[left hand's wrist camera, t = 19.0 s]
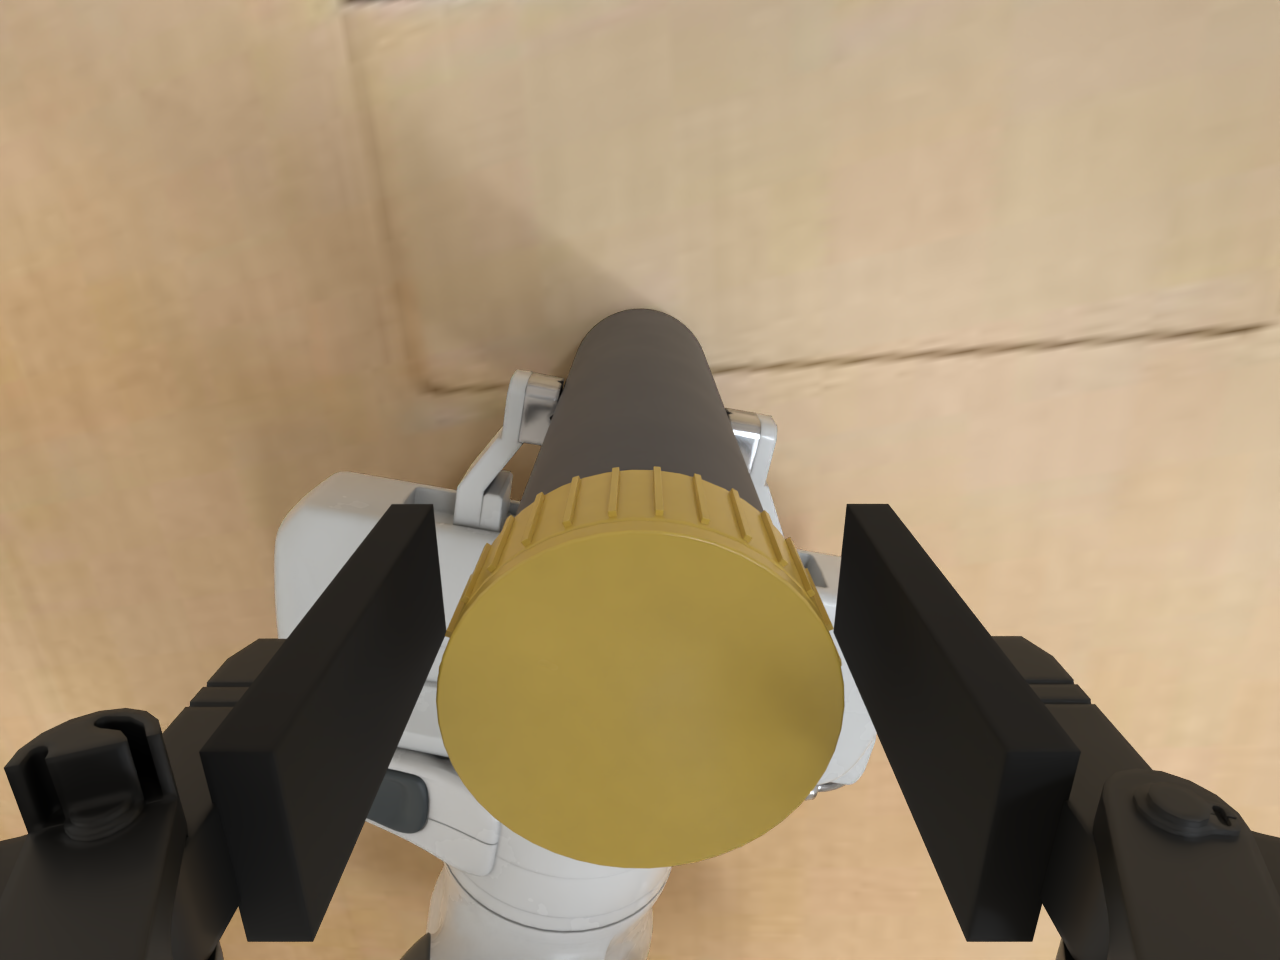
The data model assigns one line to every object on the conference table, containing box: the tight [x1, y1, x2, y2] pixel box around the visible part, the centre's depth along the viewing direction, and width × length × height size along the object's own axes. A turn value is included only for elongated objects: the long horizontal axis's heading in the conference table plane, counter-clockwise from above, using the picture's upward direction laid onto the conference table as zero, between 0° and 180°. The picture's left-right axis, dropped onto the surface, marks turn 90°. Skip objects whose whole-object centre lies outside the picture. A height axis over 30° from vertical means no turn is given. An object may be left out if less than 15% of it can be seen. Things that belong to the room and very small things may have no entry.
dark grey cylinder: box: [514, 309, 764, 518], centre depth 20 cm, size 5×5×19 cm
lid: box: [436, 466, 845, 869], centre depth 11 cm, size 6×6×2 cm
